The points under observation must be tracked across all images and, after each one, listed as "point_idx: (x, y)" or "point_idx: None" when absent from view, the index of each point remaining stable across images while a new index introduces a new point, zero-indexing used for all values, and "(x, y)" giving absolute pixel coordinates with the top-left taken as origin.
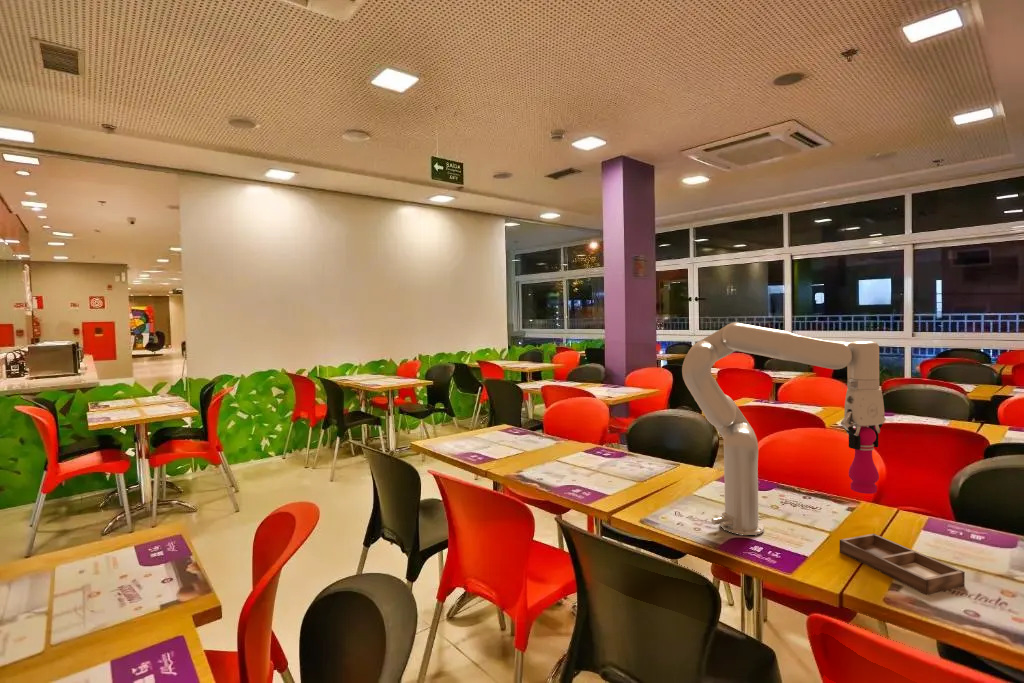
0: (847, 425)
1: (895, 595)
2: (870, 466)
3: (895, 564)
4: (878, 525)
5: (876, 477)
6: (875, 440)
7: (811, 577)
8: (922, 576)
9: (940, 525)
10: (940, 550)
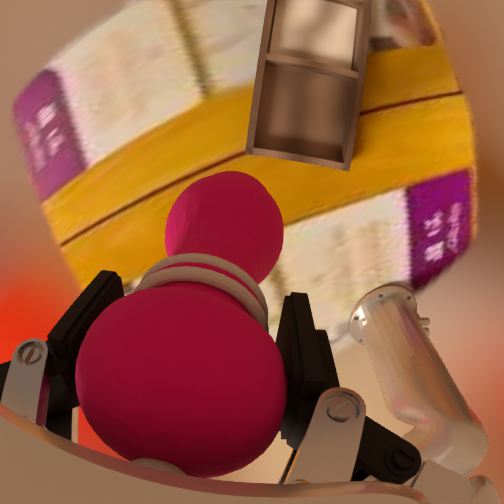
0: (436, 485)
1: (406, 35)
2: (231, 210)
3: (362, 47)
4: (140, 215)
5: (220, 176)
6: (98, 308)
7: (458, 141)
8: (317, 24)
9: (50, 170)
10: (147, 84)
